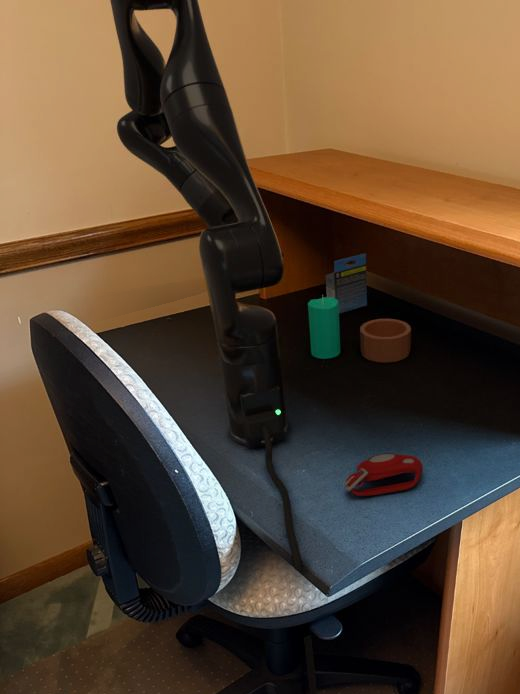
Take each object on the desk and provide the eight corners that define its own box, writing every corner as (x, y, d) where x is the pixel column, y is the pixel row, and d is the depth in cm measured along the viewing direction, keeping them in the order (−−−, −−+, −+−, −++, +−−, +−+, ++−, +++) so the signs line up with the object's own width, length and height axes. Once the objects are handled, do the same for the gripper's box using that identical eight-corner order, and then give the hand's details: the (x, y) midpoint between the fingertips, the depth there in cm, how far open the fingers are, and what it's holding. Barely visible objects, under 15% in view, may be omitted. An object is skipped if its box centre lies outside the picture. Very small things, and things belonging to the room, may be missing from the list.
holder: (418, 356, 133) (419, 333, 130) (373, 366, 130) (372, 342, 127) (396, 338, 140) (397, 315, 137) (353, 346, 137) (352, 323, 134)
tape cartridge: (357, 301, 158) (356, 248, 150) (367, 306, 155) (367, 252, 148) (326, 310, 153) (323, 256, 146) (336, 315, 151) (333, 261, 144)
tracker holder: (363, 449, 104) (425, 444, 100) (368, 476, 105) (429, 472, 101) (335, 476, 93) (403, 473, 89) (341, 506, 94) (408, 503, 91)
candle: (342, 346, 137) (339, 289, 130) (338, 359, 133) (336, 300, 125) (313, 345, 138) (309, 289, 131) (308, 358, 133) (304, 300, 126)
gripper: (199, 193, 118) (263, 265, 121) (240, 176, 129) (298, 242, 132) (179, 222, 123) (241, 290, 126) (220, 203, 133) (276, 266, 137)
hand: (270, 265), depth 129 cm, fingers open, 8 cm apart
